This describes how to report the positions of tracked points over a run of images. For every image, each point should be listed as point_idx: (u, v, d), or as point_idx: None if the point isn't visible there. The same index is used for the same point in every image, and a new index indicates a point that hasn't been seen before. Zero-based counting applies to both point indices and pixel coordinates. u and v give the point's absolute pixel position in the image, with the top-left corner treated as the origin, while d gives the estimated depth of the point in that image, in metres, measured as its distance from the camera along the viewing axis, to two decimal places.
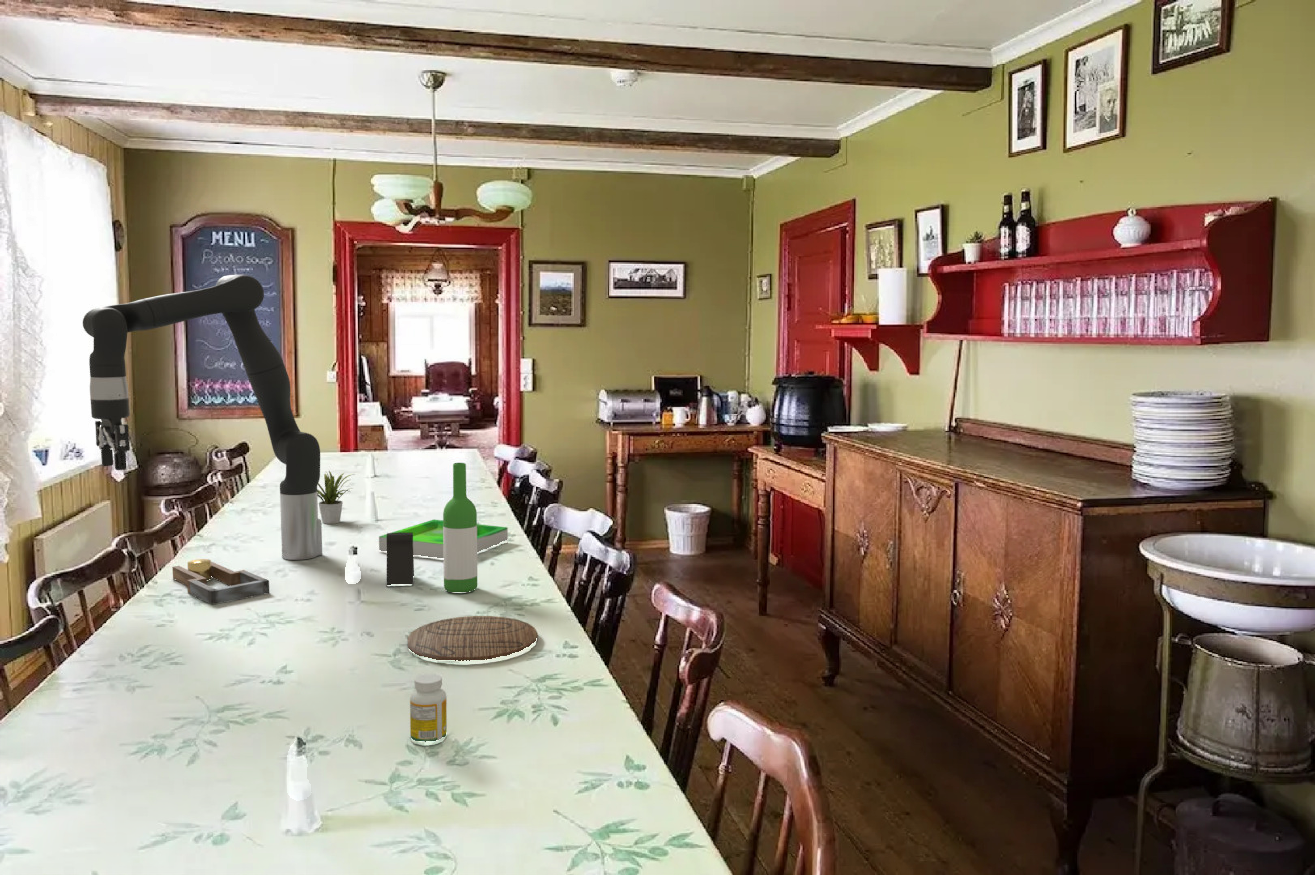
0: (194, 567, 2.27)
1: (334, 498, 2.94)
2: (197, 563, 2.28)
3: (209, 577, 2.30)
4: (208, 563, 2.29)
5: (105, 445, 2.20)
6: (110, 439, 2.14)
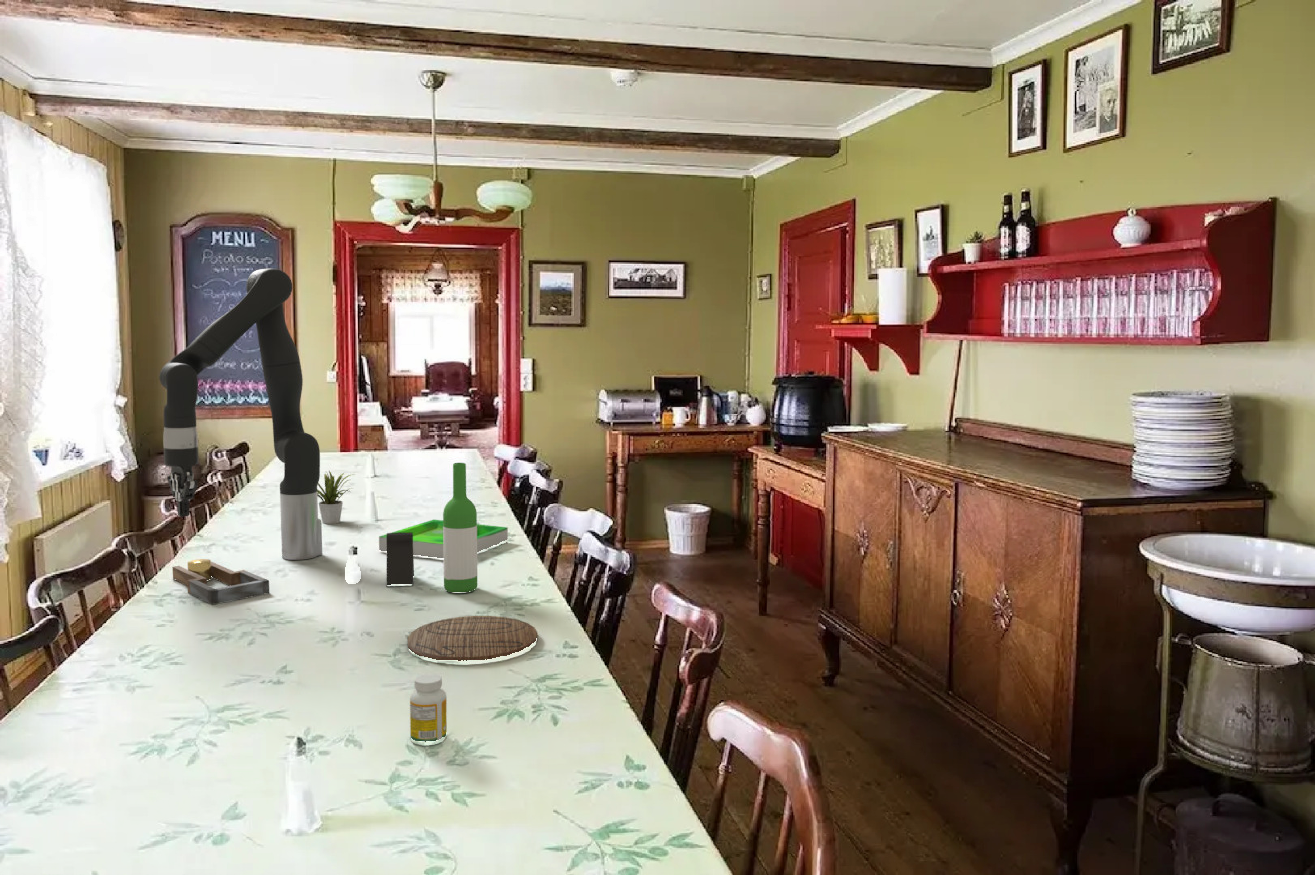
0: (194, 567, 2.27)
1: (334, 498, 2.94)
2: (197, 563, 2.28)
3: (209, 577, 2.30)
4: (208, 563, 2.29)
5: None
6: (178, 488, 2.31)
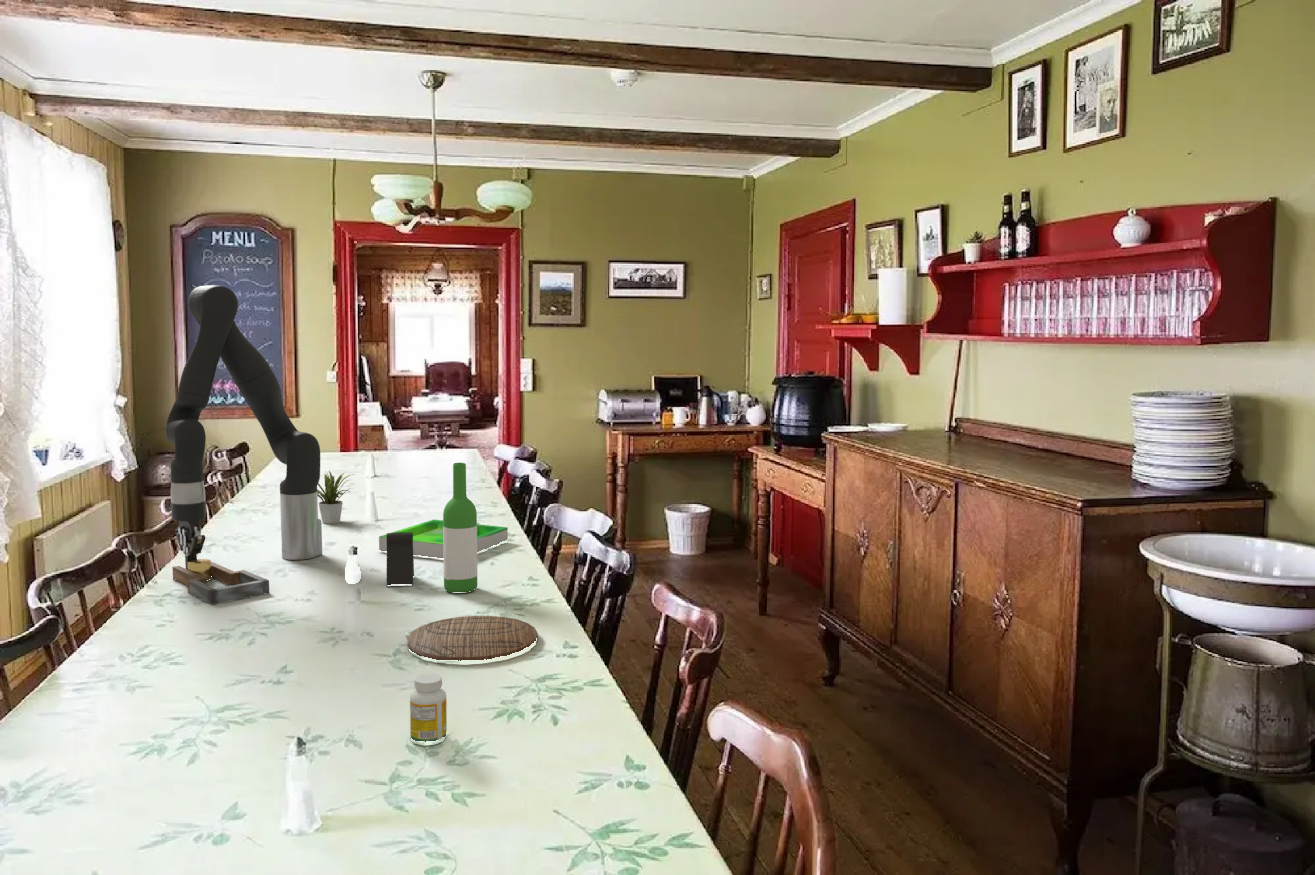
0: (194, 567, 2.27)
1: (334, 498, 2.94)
2: (197, 563, 2.28)
3: (209, 577, 2.30)
4: (208, 563, 2.29)
5: None
6: (186, 543, 2.30)
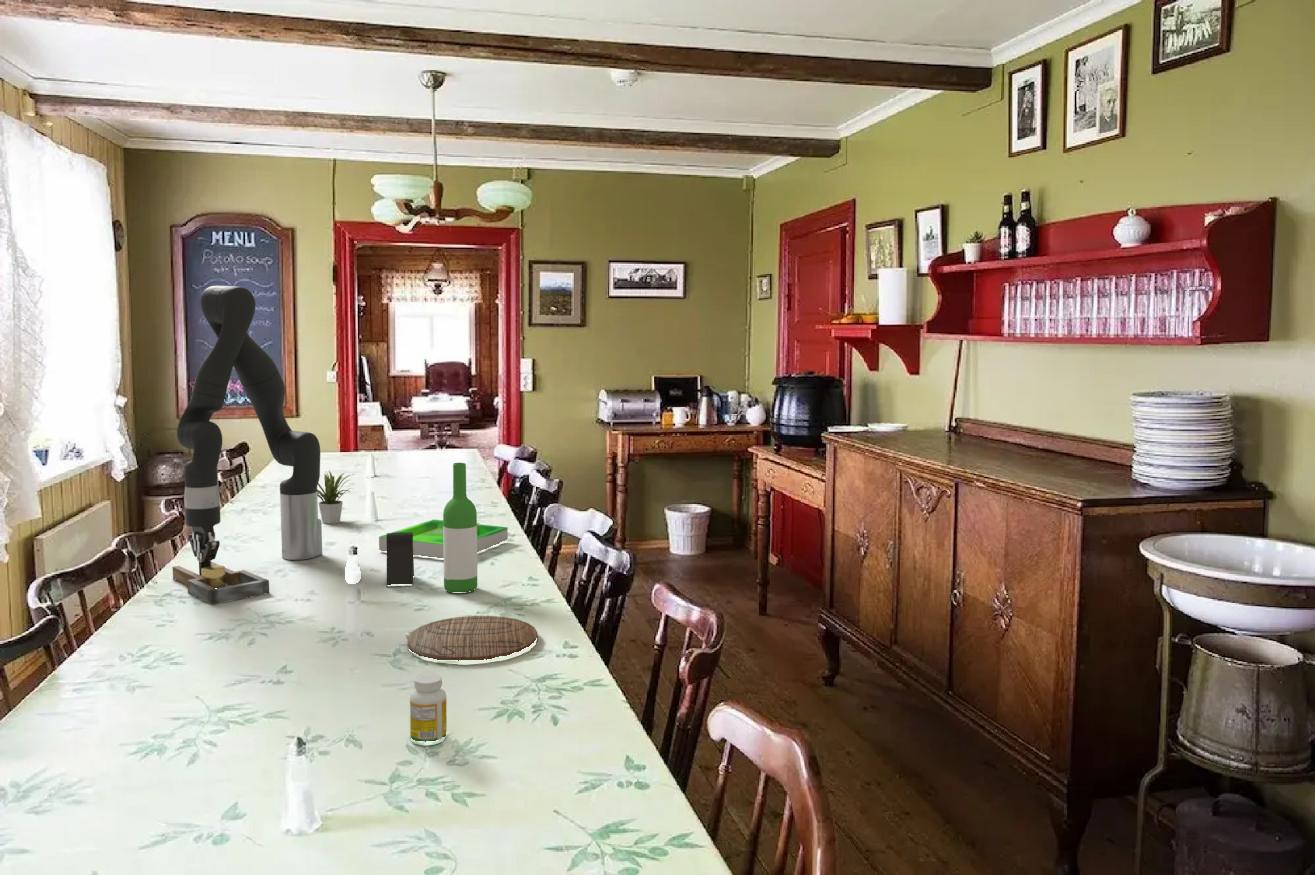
0: (208, 574, 2.21)
1: (334, 498, 2.94)
2: (211, 569, 2.22)
3: (223, 584, 2.24)
4: (222, 569, 2.23)
5: None
6: (200, 549, 2.24)
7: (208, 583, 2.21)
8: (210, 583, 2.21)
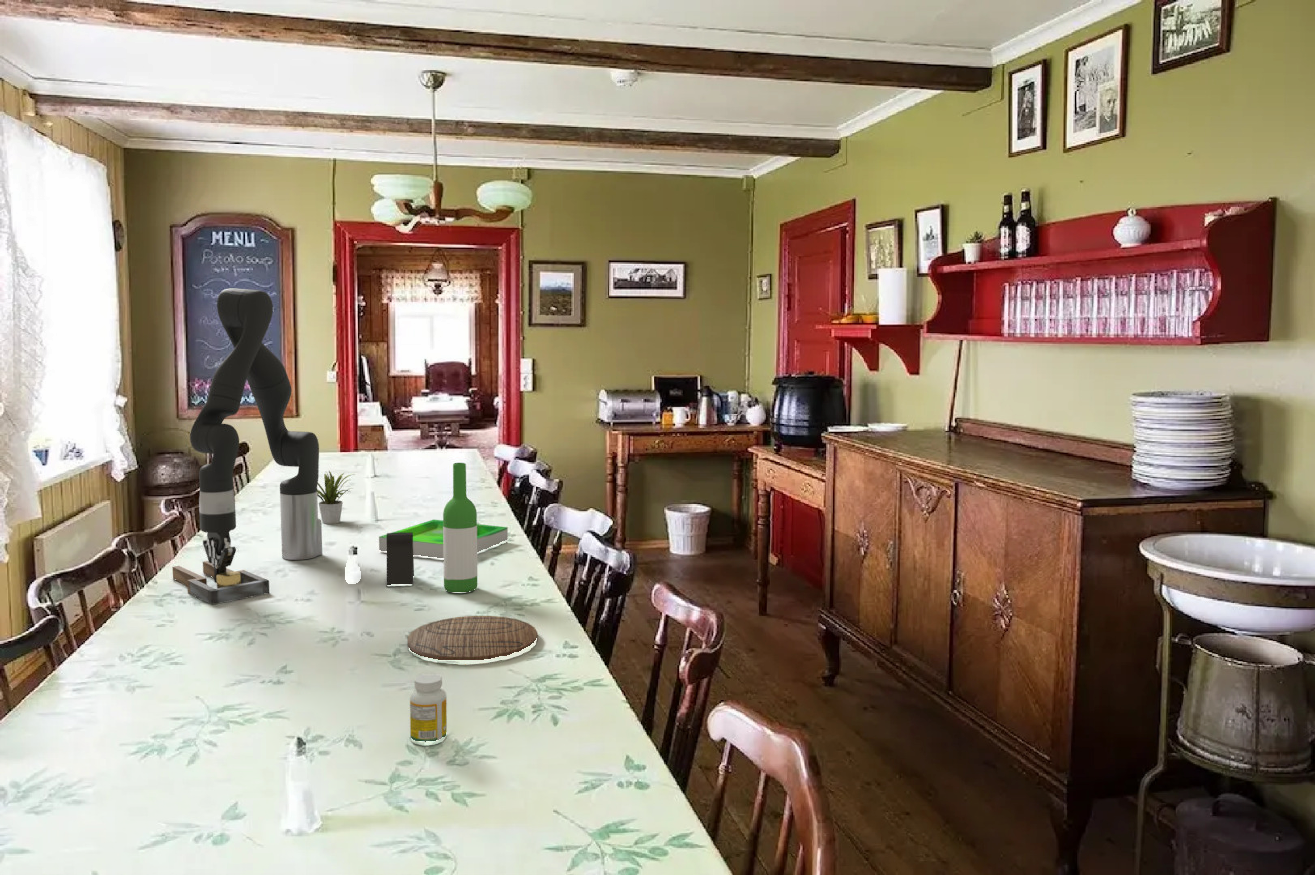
0: (223, 580, 2.16)
1: (334, 498, 2.94)
2: (226, 576, 2.16)
3: None
4: (238, 576, 2.18)
5: None
6: (215, 555, 2.19)
7: None
8: None
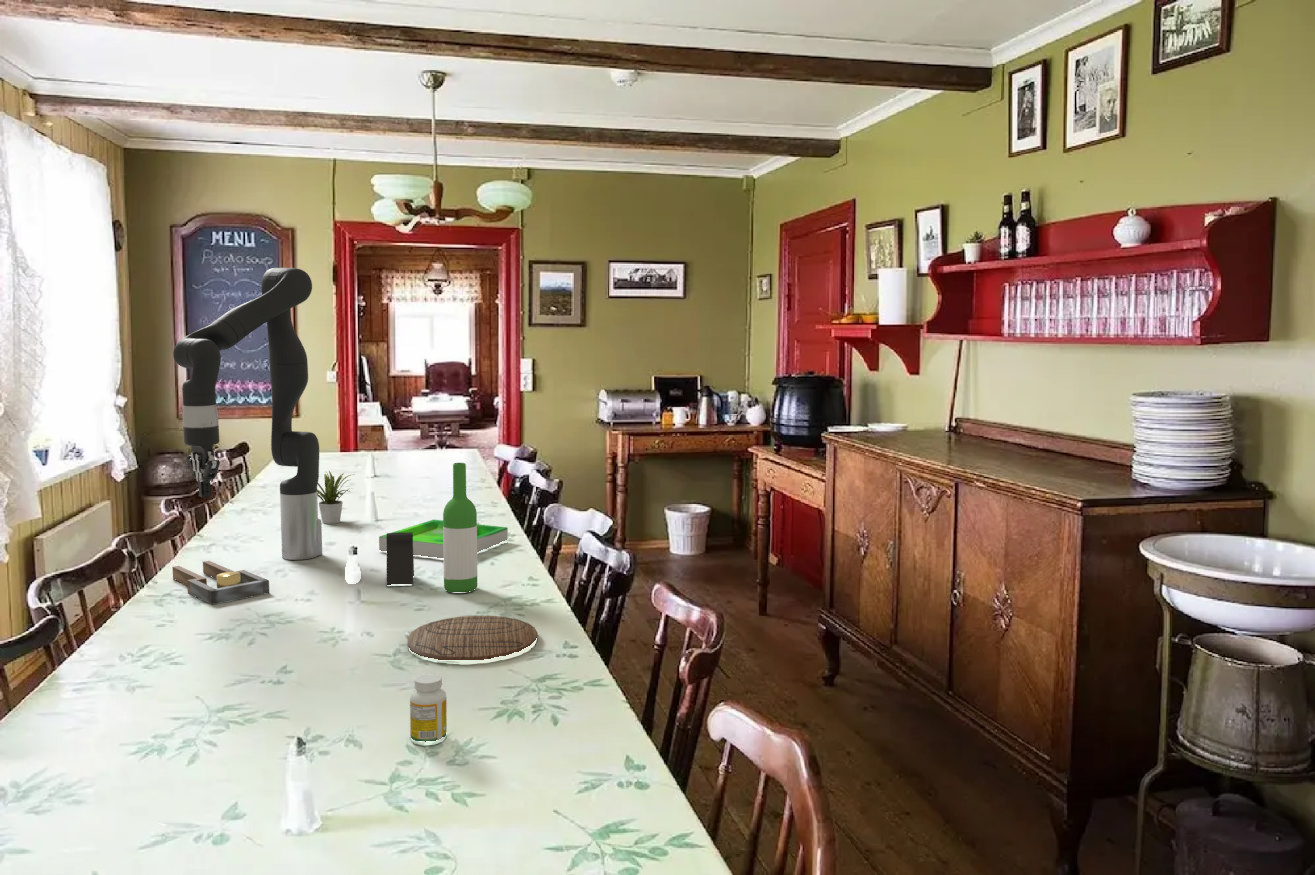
0: (223, 581, 2.16)
1: (334, 498, 2.94)
2: (226, 576, 2.16)
3: None
4: (238, 576, 2.18)
5: None
6: (199, 468, 2.23)
7: None
8: None
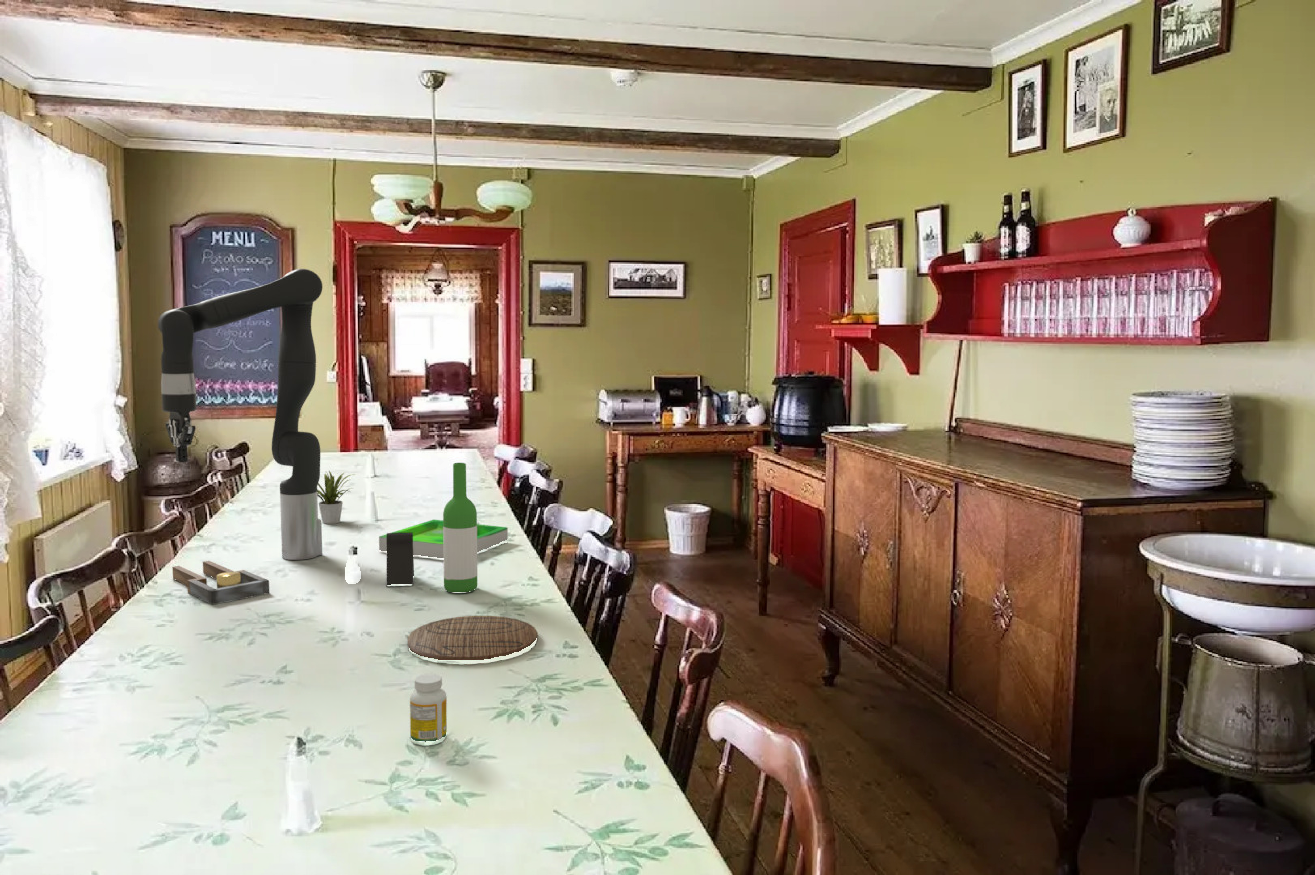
0: (223, 581, 2.16)
1: (334, 498, 2.94)
2: (226, 576, 2.16)
3: None
4: (238, 576, 2.18)
5: None
6: (176, 434, 2.34)
7: None
8: None
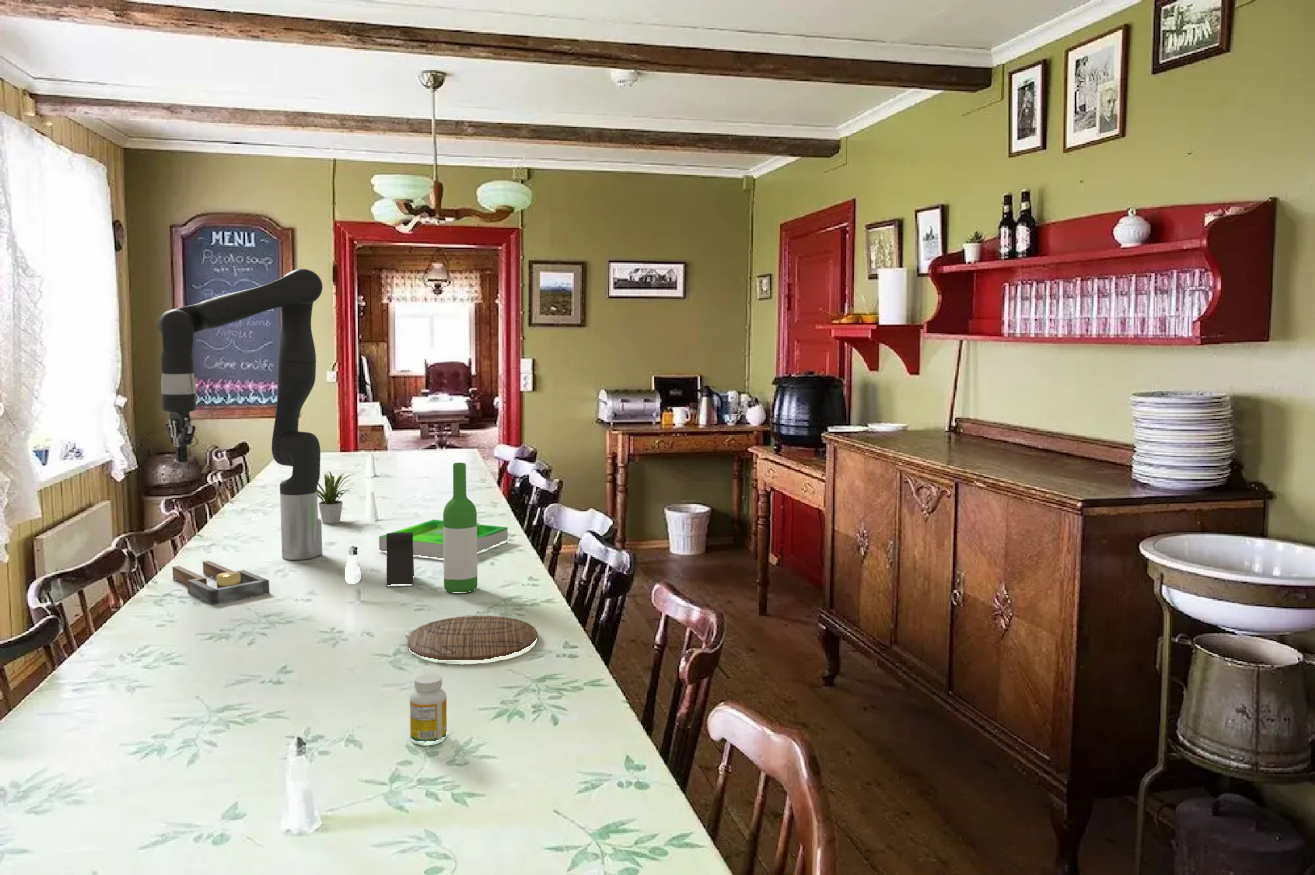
0: (223, 581, 2.16)
1: (334, 498, 2.94)
2: (226, 576, 2.16)
3: None
4: (238, 576, 2.18)
5: None
6: (176, 434, 2.34)
7: None
8: None
